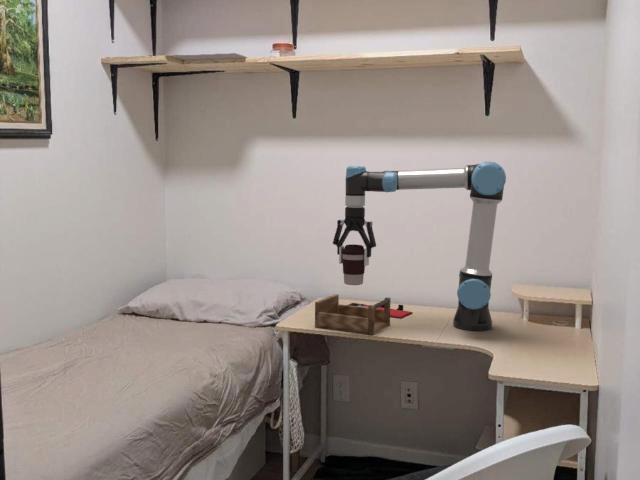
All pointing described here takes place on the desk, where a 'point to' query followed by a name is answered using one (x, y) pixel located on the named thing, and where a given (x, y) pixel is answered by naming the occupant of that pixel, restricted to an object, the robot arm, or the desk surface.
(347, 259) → the coffee cup
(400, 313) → the red board with handle
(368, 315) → the wooden crate
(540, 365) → the desk surface
